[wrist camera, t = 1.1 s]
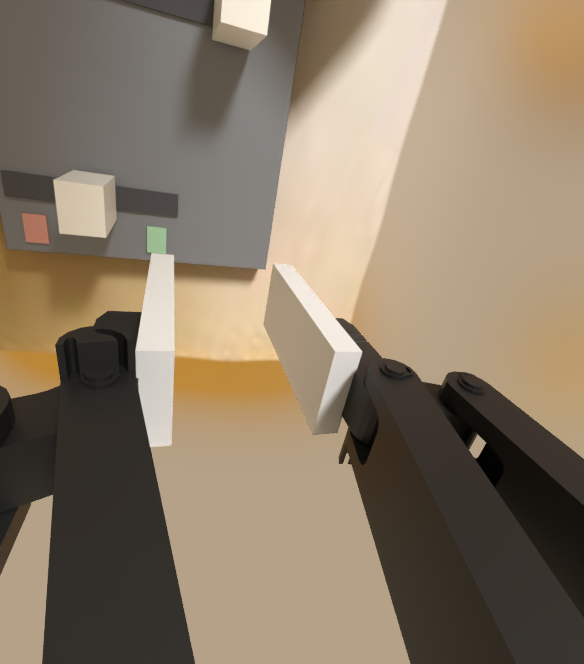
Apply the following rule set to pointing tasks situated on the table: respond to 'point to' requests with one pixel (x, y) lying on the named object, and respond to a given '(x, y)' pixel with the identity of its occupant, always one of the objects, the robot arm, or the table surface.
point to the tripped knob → (85, 203)
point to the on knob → (241, 22)
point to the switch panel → (144, 125)
